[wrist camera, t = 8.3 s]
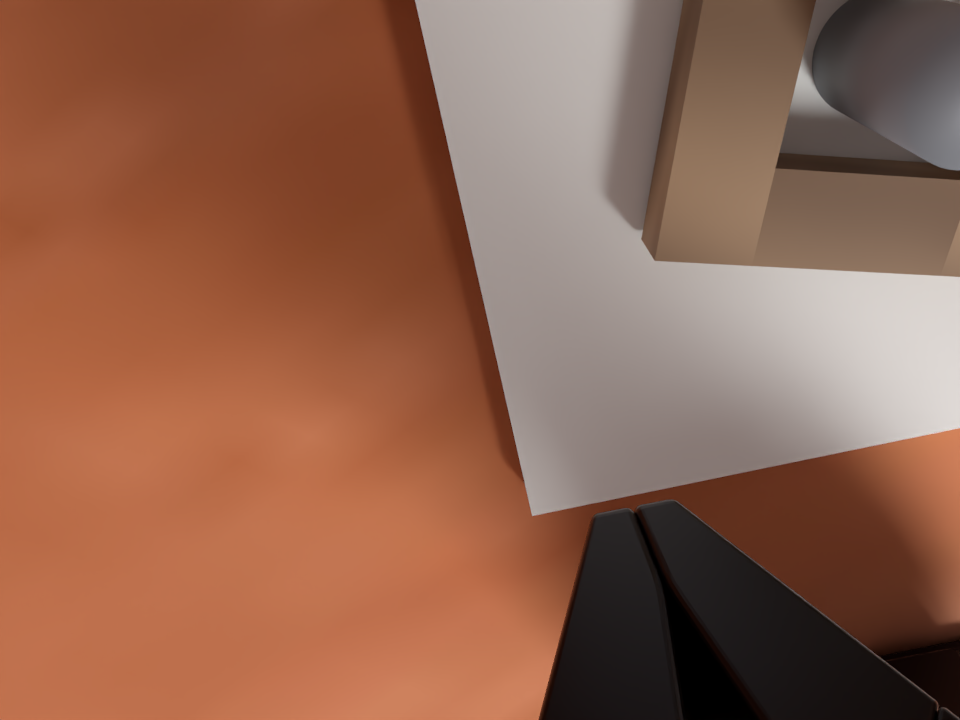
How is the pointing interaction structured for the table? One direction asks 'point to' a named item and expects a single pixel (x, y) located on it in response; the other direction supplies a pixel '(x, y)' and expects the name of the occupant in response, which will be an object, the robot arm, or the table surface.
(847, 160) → the block
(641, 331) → the board
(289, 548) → the table surface
